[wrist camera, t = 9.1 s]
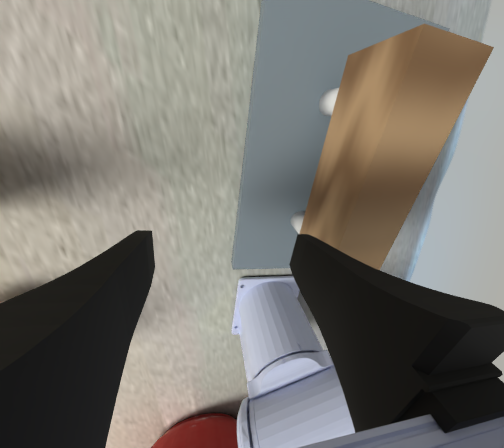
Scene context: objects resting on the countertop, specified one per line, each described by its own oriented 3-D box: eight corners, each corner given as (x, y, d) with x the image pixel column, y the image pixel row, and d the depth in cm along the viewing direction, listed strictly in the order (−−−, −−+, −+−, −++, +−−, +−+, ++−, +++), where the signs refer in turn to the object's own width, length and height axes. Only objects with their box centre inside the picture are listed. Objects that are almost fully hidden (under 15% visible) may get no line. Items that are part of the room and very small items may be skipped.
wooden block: (334, 248, 20) (370, 286, 15) (295, 248, 19) (323, 288, 14) (400, 69, 13) (493, 47, 9) (348, 55, 13) (424, 23, 8)
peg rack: (342, 260, 26) (361, 281, 23) (231, 262, 22) (236, 286, 19) (433, 34, 16) (490, 14, 13) (264, -23, 13) (284, -68, 10)
